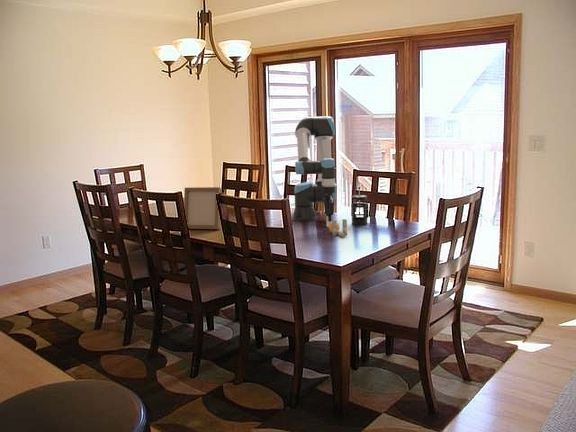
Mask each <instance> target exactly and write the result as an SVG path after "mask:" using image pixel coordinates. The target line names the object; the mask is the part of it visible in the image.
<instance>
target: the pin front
mask: <svg viewBox="0 0 576 432" xmlns="http://www.w3.org/2000/svg"><path fill="white" fill-rule="evenodd" d="M337 236H339V237H341V238H345V237H346V235H345V234H344V233H343V231H340V229H339V230H337Z"/></svg>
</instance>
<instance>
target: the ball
mask: <svg viewBox="0 0 576 432" xmlns="http://www.w3.org/2000/svg"><path fill="white" fill-rule="evenodd" d="M328 230H329V232H330V233H332V223H330V225H329V227H328ZM337 230H339V231H340V224H339V223H338V222H337Z"/></svg>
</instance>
